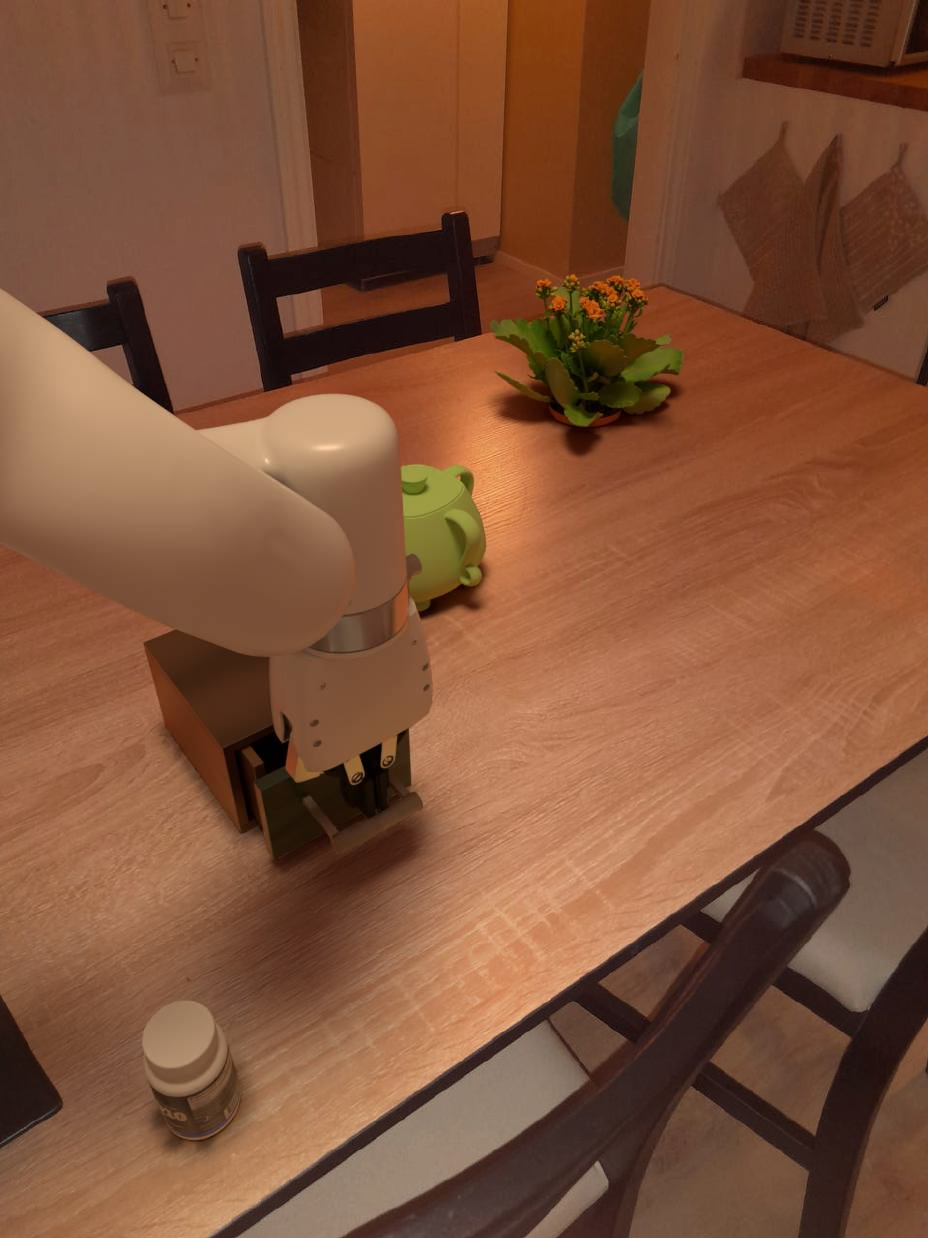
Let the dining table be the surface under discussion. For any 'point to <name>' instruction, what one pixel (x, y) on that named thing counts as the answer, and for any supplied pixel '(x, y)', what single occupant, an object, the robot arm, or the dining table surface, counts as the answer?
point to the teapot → (441, 530)
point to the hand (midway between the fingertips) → (366, 800)
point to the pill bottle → (190, 1070)
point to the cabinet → (212, 709)
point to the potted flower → (591, 352)
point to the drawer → (314, 799)
